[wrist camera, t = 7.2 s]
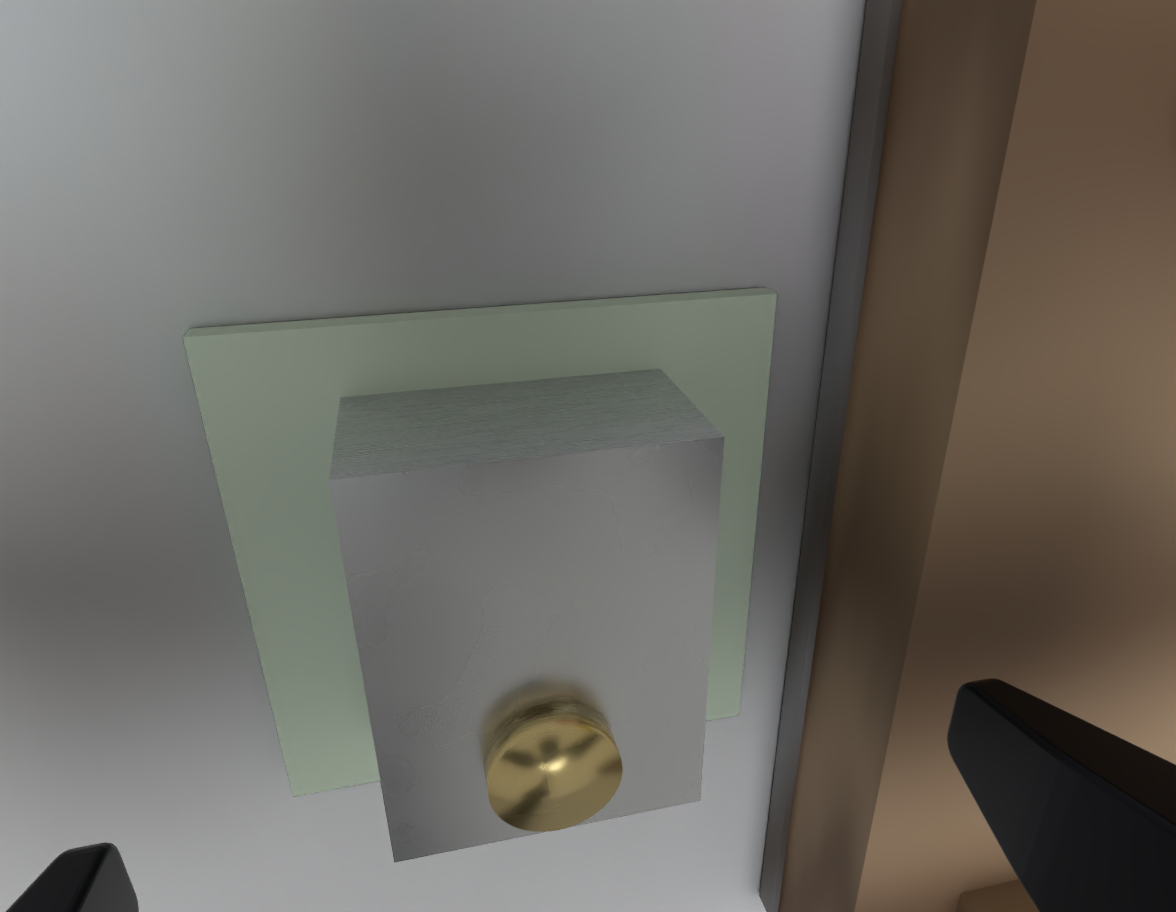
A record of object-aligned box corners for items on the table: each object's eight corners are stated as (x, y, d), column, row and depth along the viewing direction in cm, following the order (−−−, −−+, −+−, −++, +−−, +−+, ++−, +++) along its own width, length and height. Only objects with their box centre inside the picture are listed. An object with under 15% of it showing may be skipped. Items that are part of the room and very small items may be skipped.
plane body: (1019, 835, 20) (1233, 1092, 15) (759, 896, 18) (898, 1200, 13) (1290, -20, 12) (1945, -88, 7) (869, -25, 10) (1305, -113, 5)
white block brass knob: (651, 688, 14) (712, 828, 12) (392, 732, 13) (394, 894, 11) (660, 368, 12) (740, 454, 9) (340, 397, 11) (324, 502, 8)
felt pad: (731, 700, 15) (738, 715, 15) (295, 778, 14) (292, 796, 13) (765, 287, 12) (777, 293, 12) (188, 328, 10) (182, 337, 10)
